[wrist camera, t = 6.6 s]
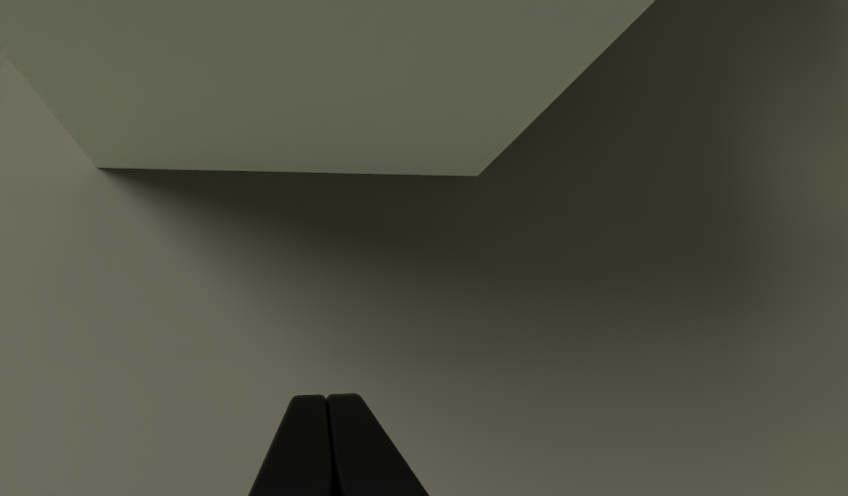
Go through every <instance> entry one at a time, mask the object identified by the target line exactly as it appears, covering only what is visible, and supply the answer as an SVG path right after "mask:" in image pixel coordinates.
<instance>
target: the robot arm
mask: <svg viewBox="0 0 848 496" xmlns="http://www.w3.org/2000/svg"><path fill="white" fill-rule="evenodd" d="M248 496H429V495H428V493H427V492H426V490H425V489H424V487H423V486H422V484H421V483H420V481H419V480H418V479H417V477H416V476H415V474H414V473H413V471H412V470H411V468H410V467H409V465H408V464H407V463H406V461H405V460H404V458H403V457H402V455H401V454H400V452H399V451H398V450H397V448H396V447H395V445H394V444H393V442H392V441H391V439H390V438H389V436H388V435H387V434H386V432H385V431H384V429H383V428H382V426H381V425H380V423H379V422H378V421H377V419H376V418H375V416H374V415H373V413H372V412H371V410H370V409H369V407H368V406H367V405H366V403H365V402H364V400H363V399H362V398H361V396H360V395H358V394H355V393H349V394H331V395H329V396H328V397H327V398H325V397H324V396H323V395H297V396H294V397H293V398H292V399H291V401H290V403H289V405H288V408H287V410H286V412H285V414H284V417H283V419H282V421H281V423H280V426H279V428H278V430H277V432H276V434H275V437H274V439H273V441H272V443H271V446H270V448H269V450H268V452H267V455H266V457H265V459H264V461H263V464H262V466H261V468H260V470H259V473H258V475H257V477H256V479H255V482H254V484H253V486H252V488H251V491H250V493H249V495H248Z"/></svg>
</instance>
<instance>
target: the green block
mask: <svg viewBox="0 0 848 496" xmlns="http://www.w3.org/2000/svg"><path fill="white" fill-rule="evenodd" d="M654 1H655V0H0V47H1V49H2V50H3V51H4V52H5V54H6V55H7V56H8V57H9V59H10V60H11V61H12V62H13V64H14V65H15V66H16V67H17V69H18V70H19V71H20V72H21V74H22V75H23V76H24V78H25V79H26V80H27V81H28V83H29V84H30V85H31V86H32V88H33V89H34V90H35V91H36V93H37V94H38V95H39V96H40V98H41V99H42V100H43V101H44V103H45V104H46V105H47V106H48V108H49V109H50V110H51V111H52V113H53V114H54V115H55V116H56V118H57V119H58V120H59V121H60V123H61V124H62V125H63V126H64V128H65V129H66V130H67V131H68V133H69V134H70V135H71V136H72V138H73V139H74V140H75V141H76V143H77V144H78V145H79V146H80V148H81V149H82V150H83V151H84V153H85V154H86V155H87V156H88V158H89V159H90V160H91V161H92V163H93V164H94V165H95V166H96V168H132V169H177V170H222V171H267V172H312V173H357V174H403V175H448V176H478V175H479V174H480V173H481V172H482V171H483V170H484V169H485V168H486V167H487V166H488V165H489V164H490V163H491V162H492V161H493V160H494V159H495V158H497V157H498V156H499V155H500V154H501V153H502V152H503V151H504V150H505V149H506V148H507V147H508V146H509V145H510V144H511V143H512V142H513V141H514V140H515V139H516V138H517V137H518V136H519V135H520V134H521V133H522V132H523V131H524V130H525V129H526V128H527V127H528V126H529V125H530V124H531V123H532V122H533V121H534V120H535V119H536V118H537V117H538V116H539V115H540V114H541V113H542V112H543V111H544V110H545V109H546V108H547V107H548V106H549V105H550V104H551V103H552V102H553V101H554V100H555V99H556V98H557V97H558V96H559V95H560V94H561V93H562V92H563V91H564V90H565V89H566V88H567V87H568V86H569V85H570V84H571V83H572V82H573V81H574V80H575V79H576V78H577V77H578V76H579V75H580V74H581V73H582V72H583V71H584V70H585V69H586V68H587V67H588V66H589V65H590V64H591V63H592V62H593V61H595V60H596V59H597V58H598V57H599V56H600V55H601V54H602V53H603V52H604V51H605V50H606V49H607V48H608V47H609V46H610V45H611V44H612V43H613V42H614V41H615V40H616V39H617V38H618V37H619V36H620V35H621V34H622V33H623V32H624V31H625V30H626V29H627V28H628V27H629V26H630V25H631V24H632V23H633V22H634V21H635V20H636V19H637V18H638V17H639V16H640V15H641V14H642V13H643V12H644V11H645V10H646V9H647V8H648V7H649V6H650V5H651V4H652V3H653V2H654Z"/></svg>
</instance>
